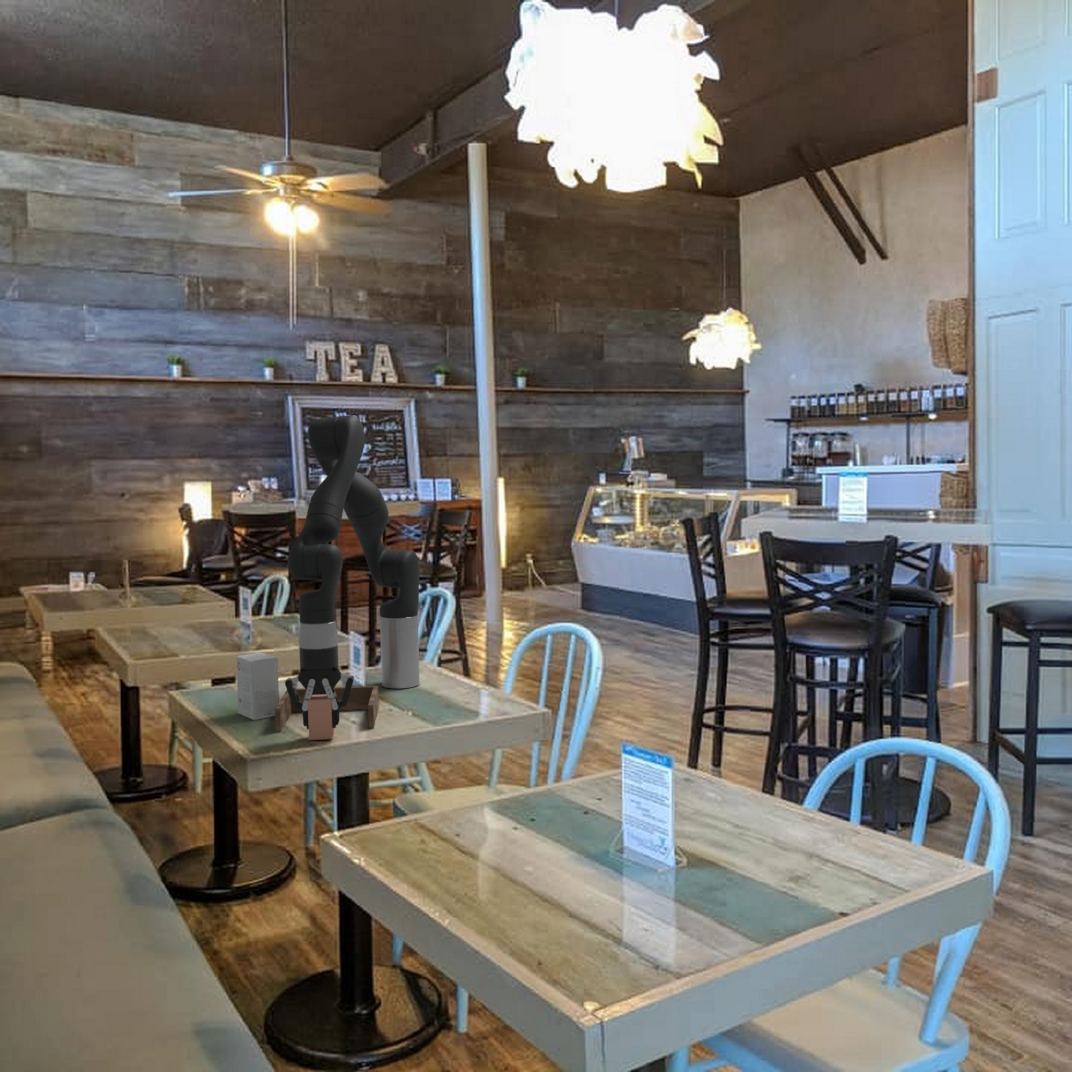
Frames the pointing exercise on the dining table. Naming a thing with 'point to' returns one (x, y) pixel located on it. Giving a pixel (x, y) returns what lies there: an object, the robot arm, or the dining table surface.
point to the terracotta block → (320, 718)
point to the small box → (257, 685)
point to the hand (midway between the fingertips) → (321, 727)
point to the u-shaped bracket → (357, 700)
